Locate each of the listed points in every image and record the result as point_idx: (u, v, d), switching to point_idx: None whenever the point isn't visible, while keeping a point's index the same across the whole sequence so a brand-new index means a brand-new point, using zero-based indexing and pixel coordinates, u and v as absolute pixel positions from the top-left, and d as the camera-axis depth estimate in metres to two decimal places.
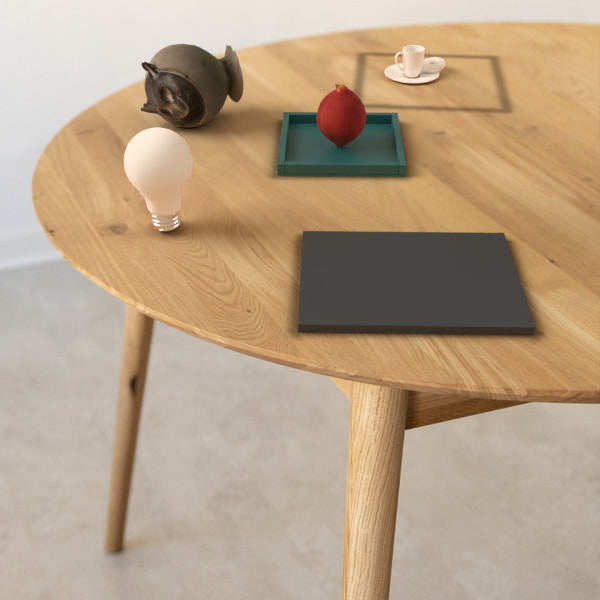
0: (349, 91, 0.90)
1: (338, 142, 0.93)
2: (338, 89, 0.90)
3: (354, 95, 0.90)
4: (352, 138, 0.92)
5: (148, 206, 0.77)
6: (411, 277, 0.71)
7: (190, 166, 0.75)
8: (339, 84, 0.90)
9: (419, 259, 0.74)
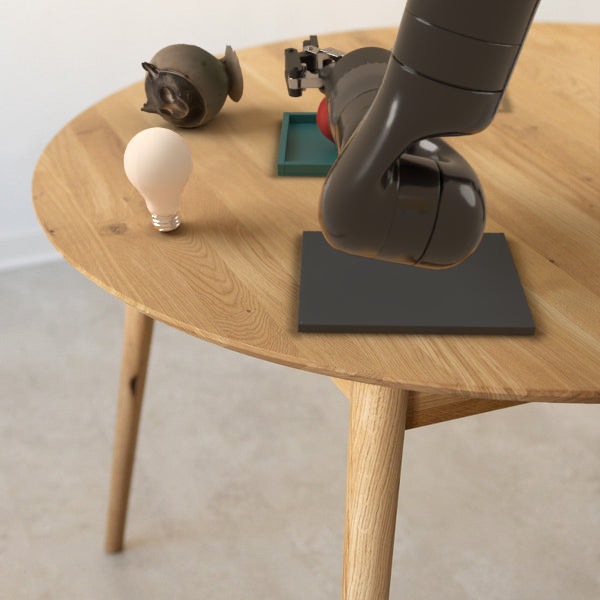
0: None
1: None
2: None
3: None
4: None
5: (148, 206, 0.77)
6: (411, 277, 0.71)
7: (190, 166, 0.75)
8: None
9: None
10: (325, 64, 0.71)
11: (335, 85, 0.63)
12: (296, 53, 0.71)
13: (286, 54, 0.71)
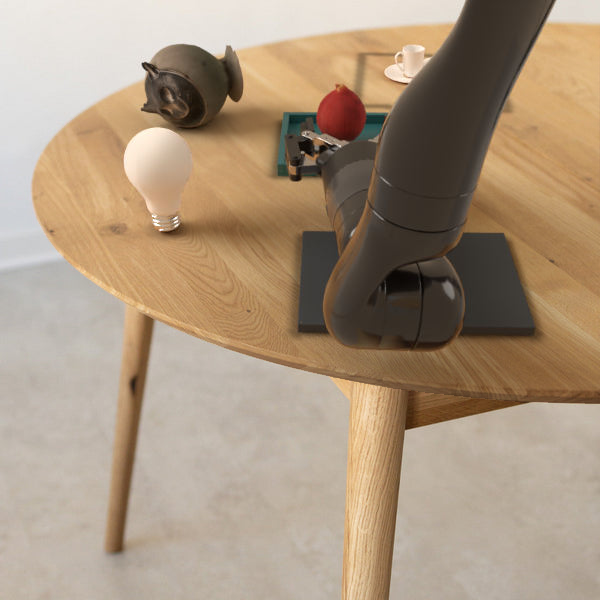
0: (349, 91, 0.90)
1: None
2: (338, 89, 0.90)
3: (354, 95, 0.90)
4: (352, 138, 0.92)
5: (148, 206, 0.77)
6: None
7: (190, 166, 0.75)
8: (339, 84, 0.90)
9: None
10: (321, 149, 0.80)
11: (332, 178, 0.71)
12: (295, 139, 0.80)
13: (286, 141, 0.79)
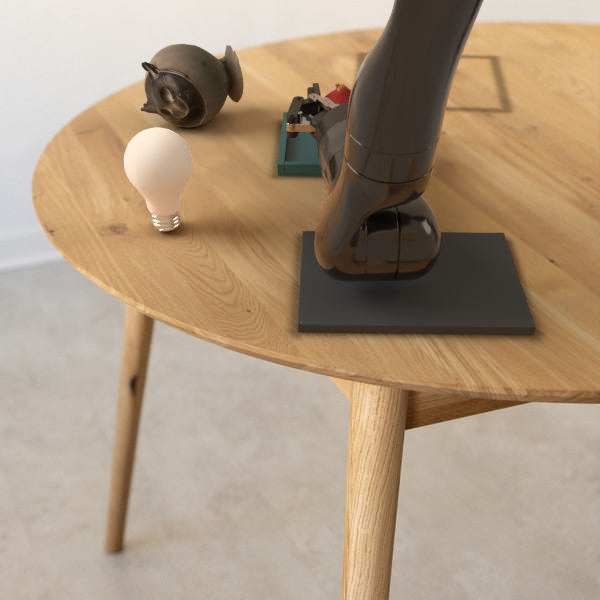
0: (349, 91, 0.90)
1: None
2: (338, 89, 0.90)
3: None
4: None
5: (148, 206, 0.77)
6: None
7: (190, 166, 0.75)
8: (339, 84, 0.90)
9: None
10: (321, 110, 0.87)
11: (324, 136, 0.79)
12: (301, 101, 0.88)
13: (292, 101, 0.87)
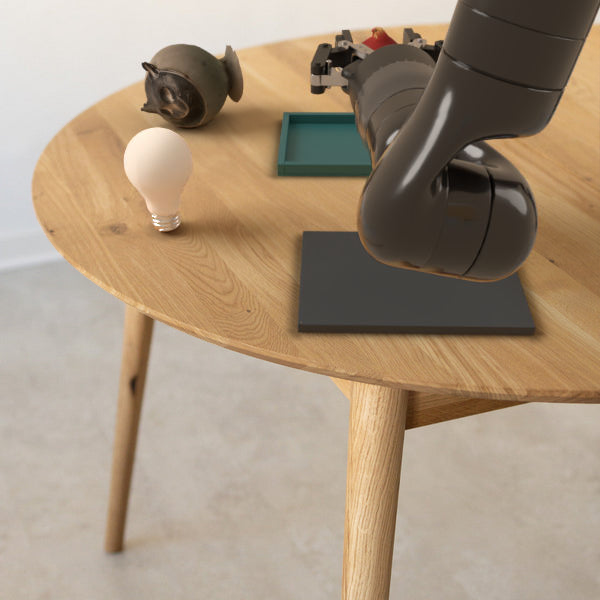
0: (389, 38, 0.71)
1: None
2: (375, 35, 0.71)
3: (395, 43, 0.71)
4: None
5: (148, 206, 0.77)
6: (411, 277, 0.71)
7: (190, 166, 0.75)
8: (377, 29, 0.70)
9: None
10: (355, 60, 0.68)
11: (363, 85, 0.59)
12: (328, 49, 0.68)
13: (317, 49, 0.68)
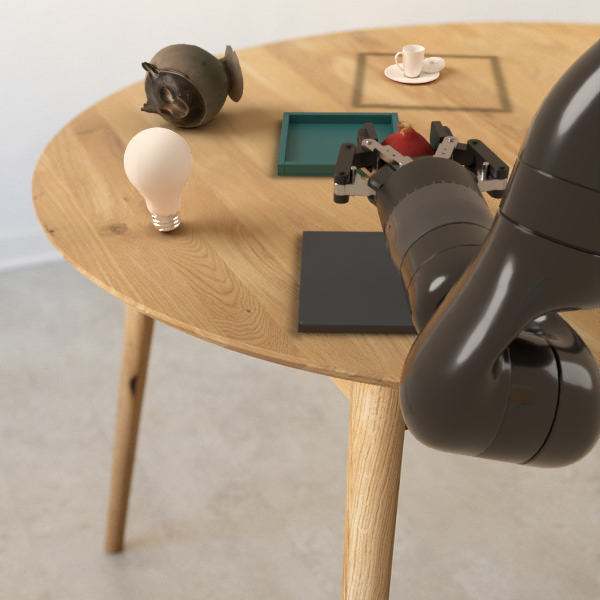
0: (417, 135, 0.65)
1: None
2: (402, 132, 0.65)
3: (423, 140, 0.65)
4: None
5: (148, 206, 0.77)
6: None
7: (190, 166, 0.75)
8: (404, 125, 0.65)
9: None
10: (381, 164, 0.62)
11: (395, 208, 0.54)
12: (352, 151, 0.62)
13: (340, 151, 0.62)
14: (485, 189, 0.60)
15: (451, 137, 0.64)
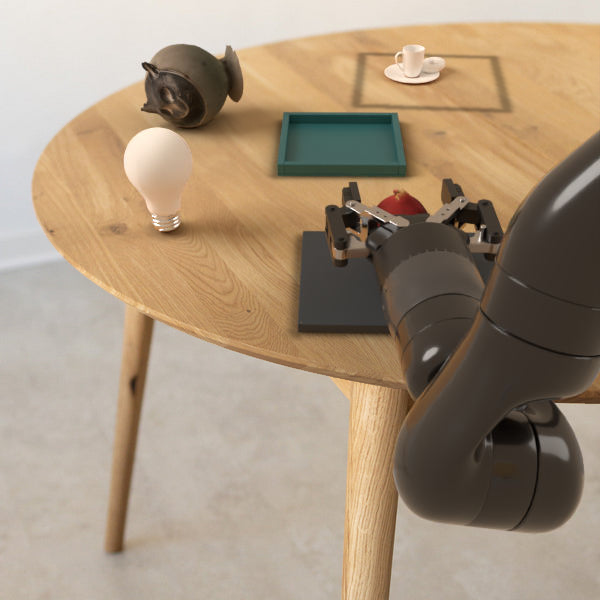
0: (411, 199, 0.69)
1: None
2: (397, 197, 0.69)
3: (417, 204, 0.69)
4: None
5: (148, 206, 0.77)
6: None
7: (190, 166, 0.75)
8: (399, 191, 0.68)
9: None
10: (370, 224, 0.65)
11: (390, 273, 0.57)
12: (338, 213, 0.65)
13: (328, 215, 0.65)
14: (477, 251, 0.63)
15: (462, 198, 0.67)
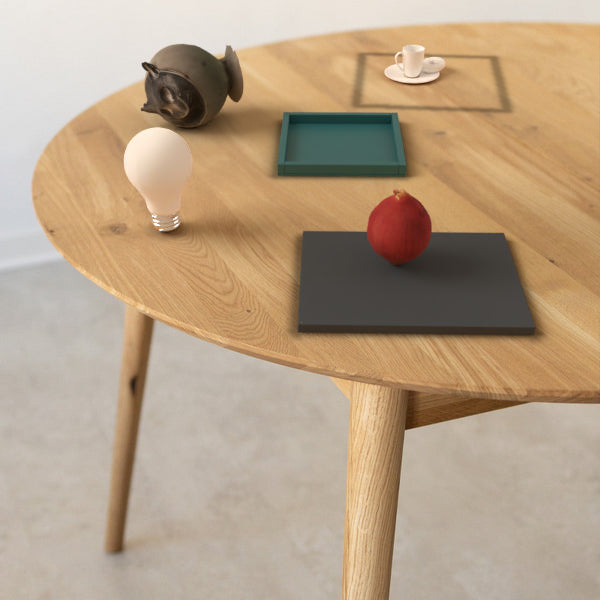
0: (411, 199, 0.69)
1: (395, 261, 0.71)
2: (397, 197, 0.69)
3: (417, 204, 0.69)
4: (414, 257, 0.71)
5: (148, 206, 0.77)
6: (411, 277, 0.71)
7: (190, 166, 0.75)
8: (399, 191, 0.68)
9: (419, 259, 0.74)
10: None
11: None
12: None
13: None
14: None
15: None
